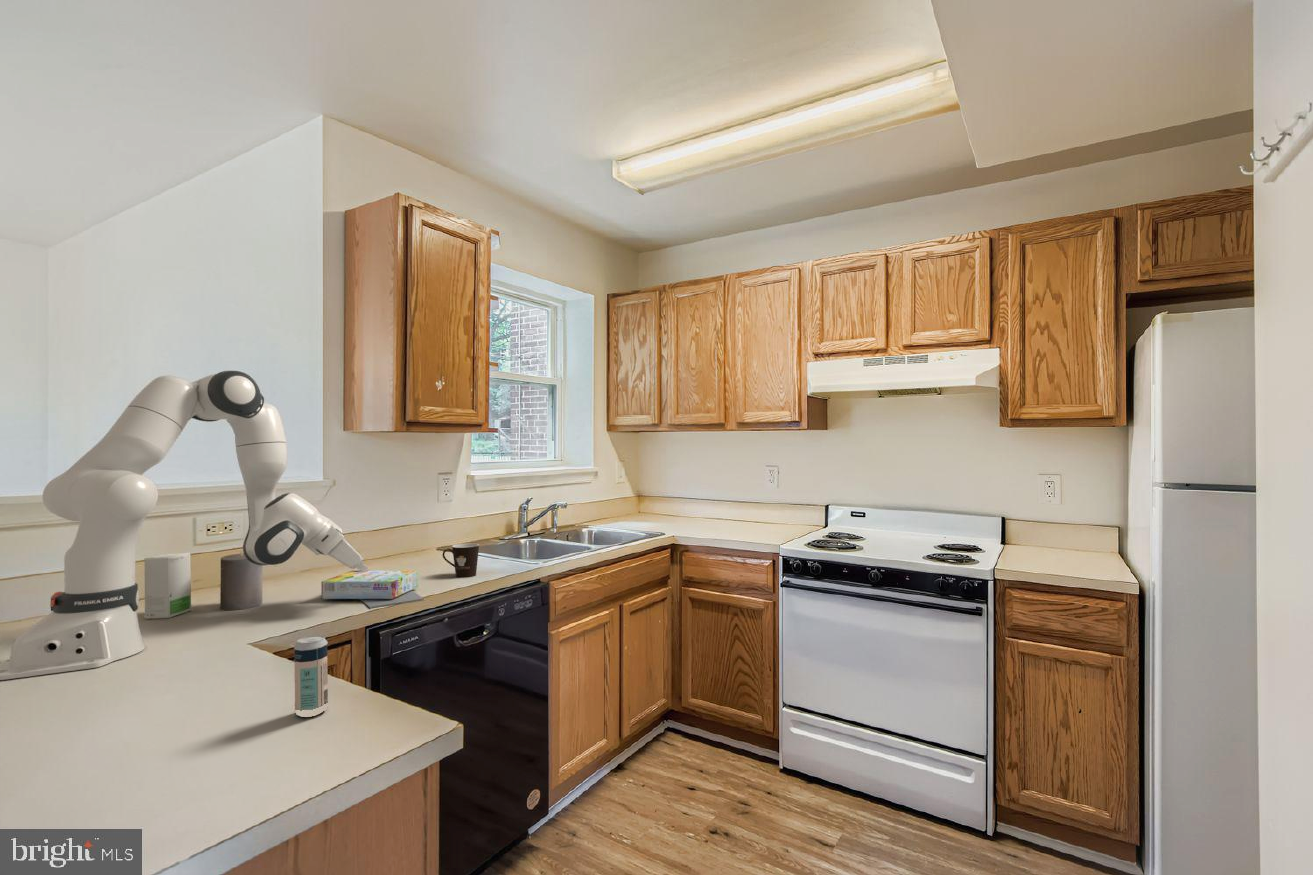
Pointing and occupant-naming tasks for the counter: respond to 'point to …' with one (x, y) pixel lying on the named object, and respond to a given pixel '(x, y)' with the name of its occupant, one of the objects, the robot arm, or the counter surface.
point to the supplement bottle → (311, 673)
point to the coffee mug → (464, 559)
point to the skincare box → (167, 585)
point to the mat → (393, 600)
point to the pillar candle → (240, 583)
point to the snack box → (369, 585)
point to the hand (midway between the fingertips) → (364, 569)
